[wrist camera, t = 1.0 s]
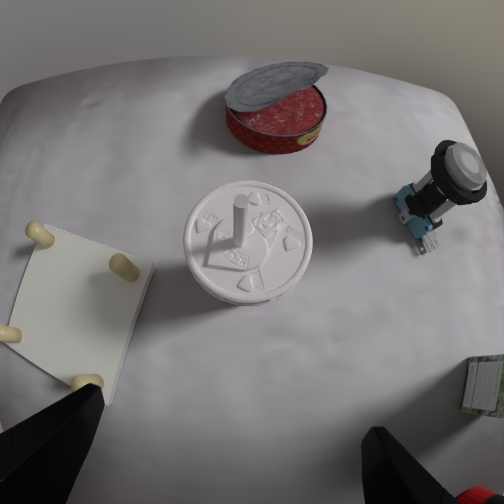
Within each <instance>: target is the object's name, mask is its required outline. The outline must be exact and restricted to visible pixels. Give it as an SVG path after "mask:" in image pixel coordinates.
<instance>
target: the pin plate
mask: <svg viewBox="0 0 504 504" xmlns="http://www.w3.org/2000/svg"><path fill="white" fill-rule="evenodd" d="M25 233H26V235H27V236H28V237H29V238H31V239H32V240H34V241H35V242H37V243H36V245H35V248H34V250H33V253H32V255H31V258H30V261H29V263H28V266H27V269H26V271H25V274H24V277H23V280H22V283H21V286H20V289H19V292H18V295H17V298H16V301H15V305H14V308H13V311H12V315H11V319H10V322H9V326H5V325H0V341H2V342H4V343H5V344H7V345H8V346H9V347H11V348H12V349H14V350H15V351H16V352H18V353H19V354H21V355H22V356H23V357H25V358H26V359H28V360H29V361H31V362H32V363H34V364H35V365H37V366H38V367H40V368H41V369H43V370H45V371H46V372H48V373H49V374H51V375H53V376H54V377H56V378H58V379H59V380H61V381H63V382H64V383H66V384H68V385H70V386H71V389H72V391H73V392H74V391H76V390H77V389H79V388H81V387H82V386H84V385H86V384H87V383H93V384H96V385H99V386H100V387H101V389H102V393H103V397H104V402H105V404H106V405H110V404H112V402H113V399H114V395H115V391H116V387H117V384H118V380H119V377H120V373H121V370H122V366H123V363H124V359H125V356H126V353H127V350H128V346H129V343H130V340H131V337H132V334H133V331H134V327H135V324H136V321H137V318H138V315H139V312H140V309H141V307H142V304H143V301H144V298H145V295H146V292H147V289H148V287H149V284H150V281H151V278H152V276H153V273H154V270H155V268H156V265H155V264H154V263H153V262H151V261H148V260H145V259H142V258H139V257H136V256H133V255H131V254H128V253H125V252H122V251H119V250H116V249H113V248H111V247H108V246H105V245H102V244H99V243H97V242H94V241H91V240H88V239H86V238H83V237H80V236H77V235H75V234H72V233H69V232H67V231H64V230H61V229H59V228H56V227H53V226H51V225H48V224H46V223H45V225H44V227H42V226H41V225H39V224H38V223H37V222H35V221H31V222H30V223H28V225H27V226H26V230H25Z"/></svg>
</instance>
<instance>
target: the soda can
mask: <svg viewBox="0 0 504 504" xmlns="http://www.w3.org/2000/svg"><path fill="white" fill-rule="evenodd" d="M456 500H457V501H458V502H460V503H461V504H504V496H502V495H499V494H496V493H494V492H491V491H488V490H486V489H483V488H481V487H477V488H473V489H471V490H469V491H467V492H465V493H463V494H462V495H460V496H459V497H458V498H457V499H456Z"/></svg>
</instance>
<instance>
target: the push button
mask: <svg viewBox="0 0 504 504" xmlns="http://www.w3.org/2000/svg"><path fill="white" fill-rule="evenodd" d="M486 178H487V173H486V168H485V165H484V163H483V161H482V159H481V158H480V156H479V155H478V154H477V153H476V151H475V150H474V149H472V148H471V147H470V146H468V145H467V144H464V143H461V142H460V143H457V142H455V141H451V140H444V141H442V142H440V143H439V144H438V146H437V147H436V149H435V152H434V155H433V156H432V157H431V170H430V171H429V172H428V173H427V174H426V175H425V176H424V177H423V178H422V179H421V180H420V181H416V182H414V183H411V184H408V185H406V186H403V188H402V189H401V190H400V191H399V192H398V193H397V194H396V195H395V196H394V201H395V203H396V204H397V206H398V208H399V210H400V212H401V213H400V214H399V218H400V220H401V222H402V224H406V223H407V225H408V227H409V229H410V231H411V233H412V235H413V237H414V238H415V239H418V238H420V237H421V238H422V240H423V242H425V244H426V246H427V248H428V250H429V252H431V251H433V250H434V249H436V248H438V247H440V245H439V242H438V240H437V238H436V234H435V232H434V229H436V228H437V227H439V226H440V225H442V223H443V222H442V219H441V217H440V216H442V215H443V214H444V213H446V212H447V211H448V210H450V209H451V208H452V207H454V206H455V205H456V204H457V205H467V204H471V203H476V202H479V201H480V200H481V199H483V198H484V197H485V195H486V192H487V181H486ZM433 180H434V181H433ZM432 181H433V182H432ZM431 182H432V183H431ZM430 183H431V184H430ZM447 199H448V201H446V200H447ZM402 215H403V217H404V219H405V220H403V219H402ZM434 241H436V243H437V244H436V245H435V244H434ZM429 244H430V245H431V248H430V247H429Z"/></svg>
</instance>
